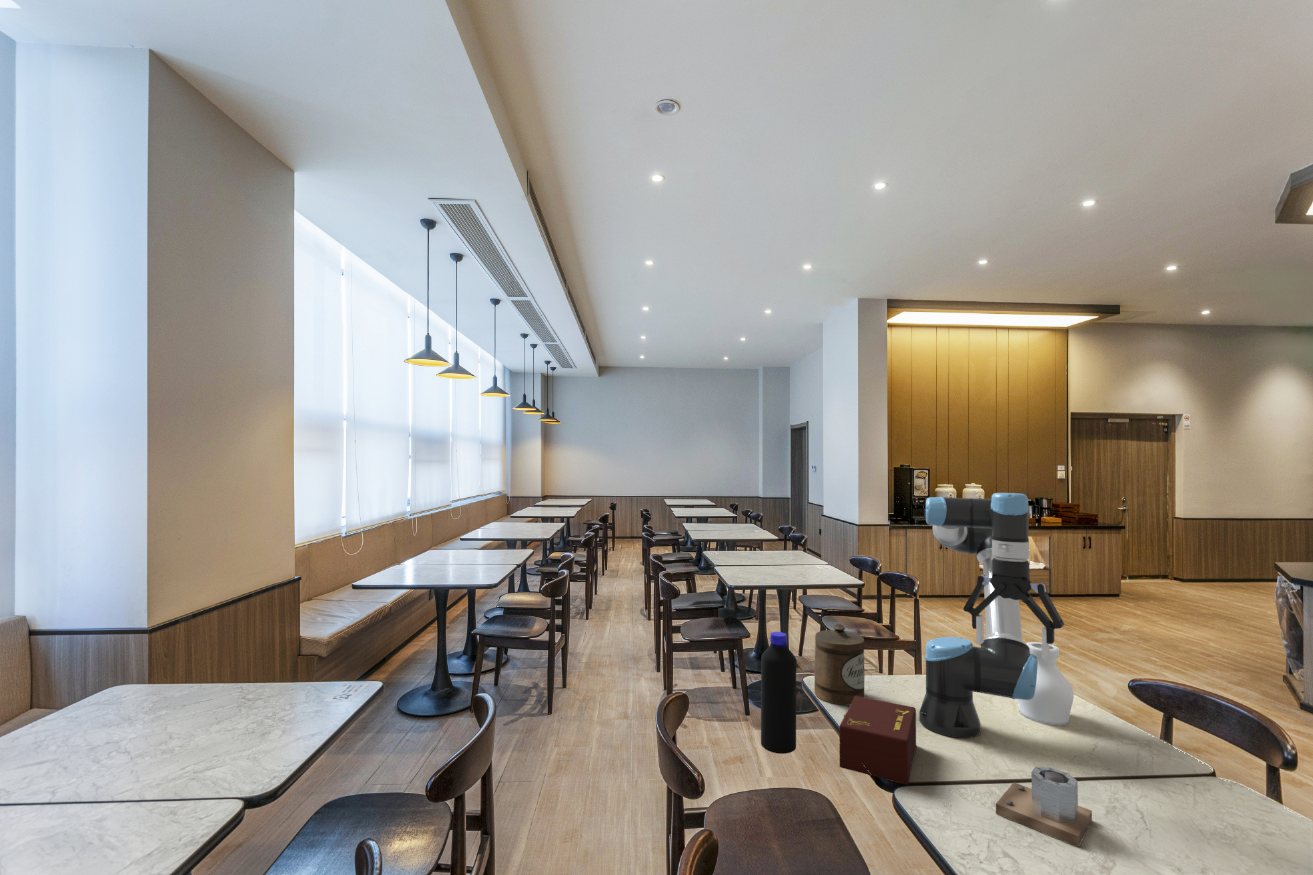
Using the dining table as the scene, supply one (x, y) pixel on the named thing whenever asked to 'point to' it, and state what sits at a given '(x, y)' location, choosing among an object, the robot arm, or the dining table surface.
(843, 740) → the box
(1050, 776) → the shaft block
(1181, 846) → the dining table surface
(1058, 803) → the hub
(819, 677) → the wooden container
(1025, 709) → the vase
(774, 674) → the bottle
